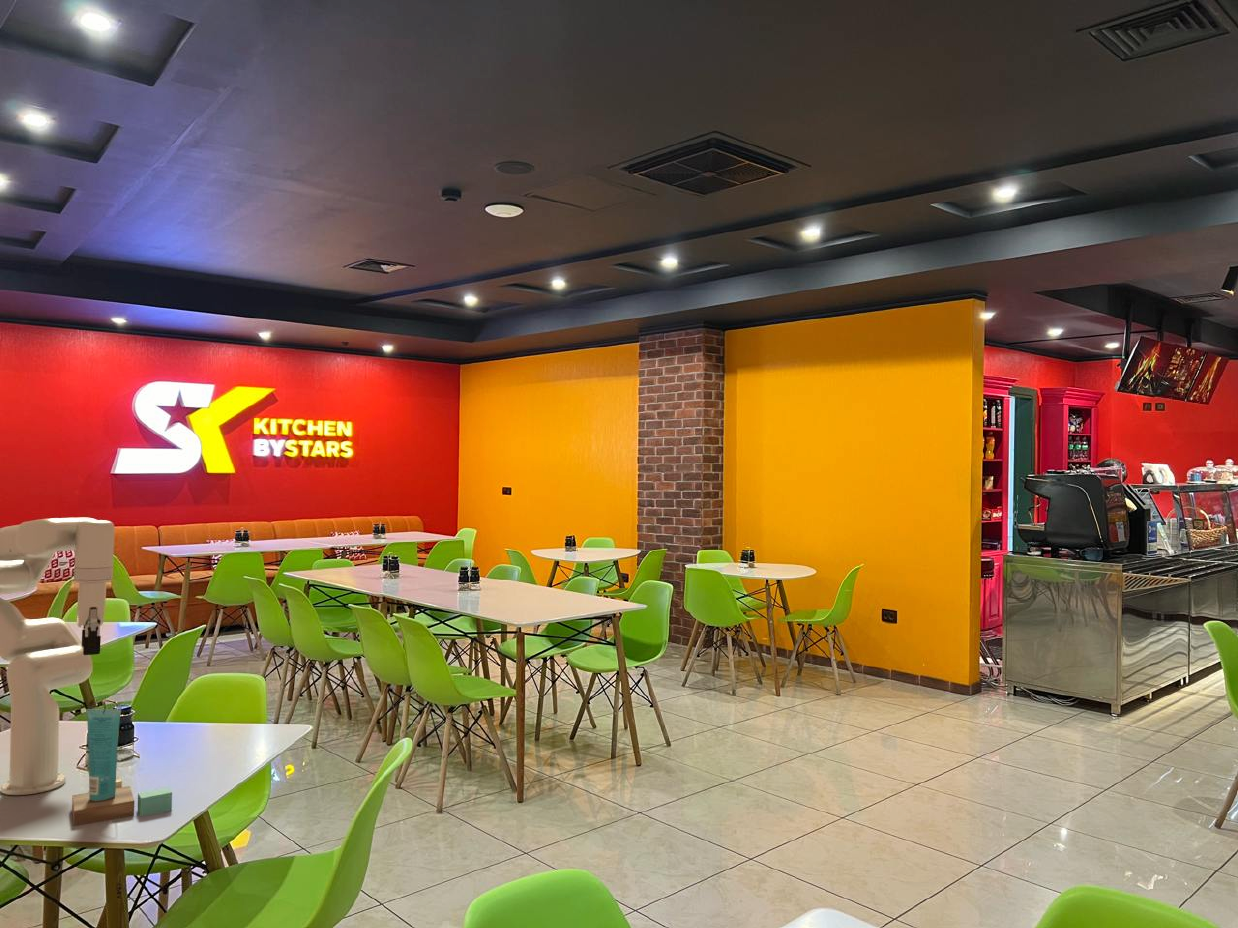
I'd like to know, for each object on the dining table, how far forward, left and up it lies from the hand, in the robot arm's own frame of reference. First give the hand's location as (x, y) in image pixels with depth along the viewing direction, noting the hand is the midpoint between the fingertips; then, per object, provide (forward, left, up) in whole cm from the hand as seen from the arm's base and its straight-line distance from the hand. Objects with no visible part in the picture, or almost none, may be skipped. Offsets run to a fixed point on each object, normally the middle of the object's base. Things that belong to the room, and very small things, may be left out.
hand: (90, 650), depth 196 cm
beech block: (0, +4, -34) cm, 34 cm away
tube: (+9, +2, -31) cm, 32 cm away
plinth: (+10, +3, -34) cm, 35 cm away
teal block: (+15, +12, -34) cm, 39 cm away
